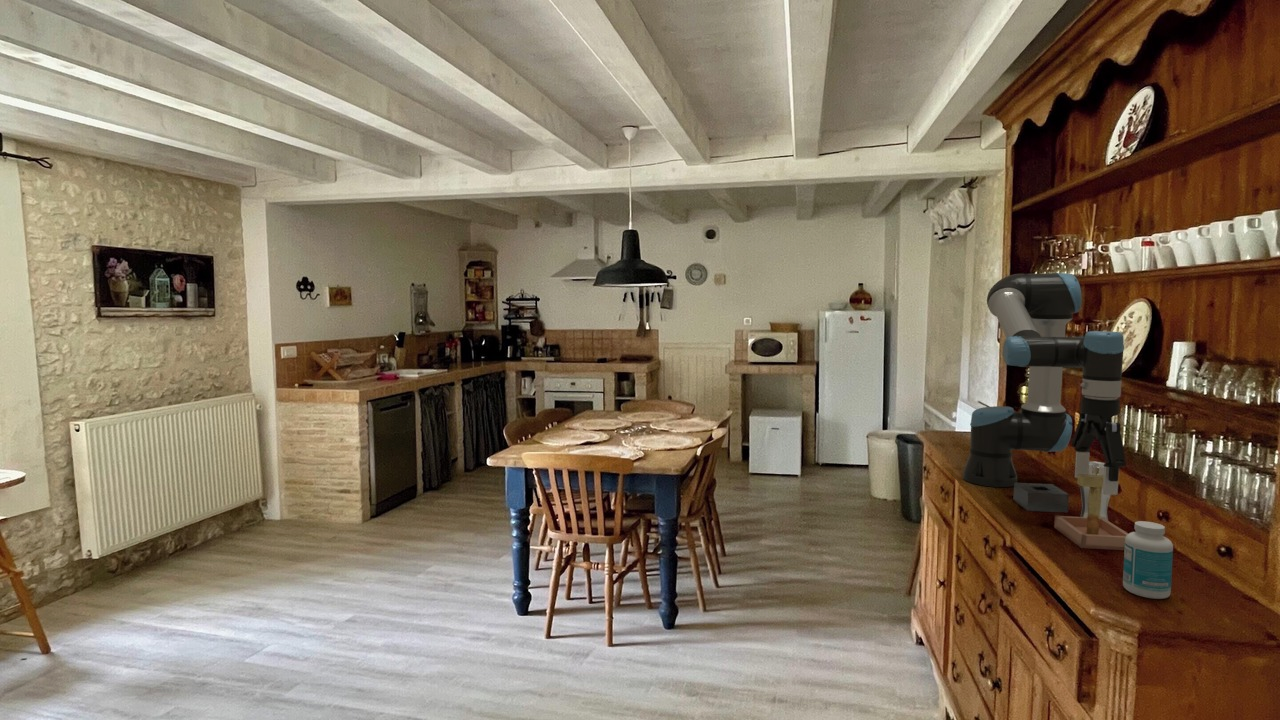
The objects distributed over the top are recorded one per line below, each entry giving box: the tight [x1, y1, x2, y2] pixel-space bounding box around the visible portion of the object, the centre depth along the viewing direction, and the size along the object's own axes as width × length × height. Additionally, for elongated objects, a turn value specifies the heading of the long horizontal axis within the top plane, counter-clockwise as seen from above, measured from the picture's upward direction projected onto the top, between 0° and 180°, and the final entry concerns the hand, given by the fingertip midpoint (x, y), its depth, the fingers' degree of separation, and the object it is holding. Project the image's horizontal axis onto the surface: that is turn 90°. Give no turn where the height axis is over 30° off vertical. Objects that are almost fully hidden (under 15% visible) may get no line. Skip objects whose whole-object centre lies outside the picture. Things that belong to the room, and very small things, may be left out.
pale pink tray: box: [1054, 515, 1129, 551], centre depth 157 cm, size 14×11×3 cm
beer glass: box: [1079, 460, 1111, 521], centre depth 168 cm, size 7×7×15 cm
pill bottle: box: [1122, 520, 1174, 600], centre depth 128 cm, size 8×7×14 cm
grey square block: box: [1012, 482, 1070, 514], centre depth 182 cm, size 10×10×5 cm
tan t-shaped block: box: [1076, 474, 1104, 535], centre depth 156 cm, size 7×2×14 cm, turn 80°
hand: (1095, 485), depth 156 cm, fingers open, 13 cm apart
